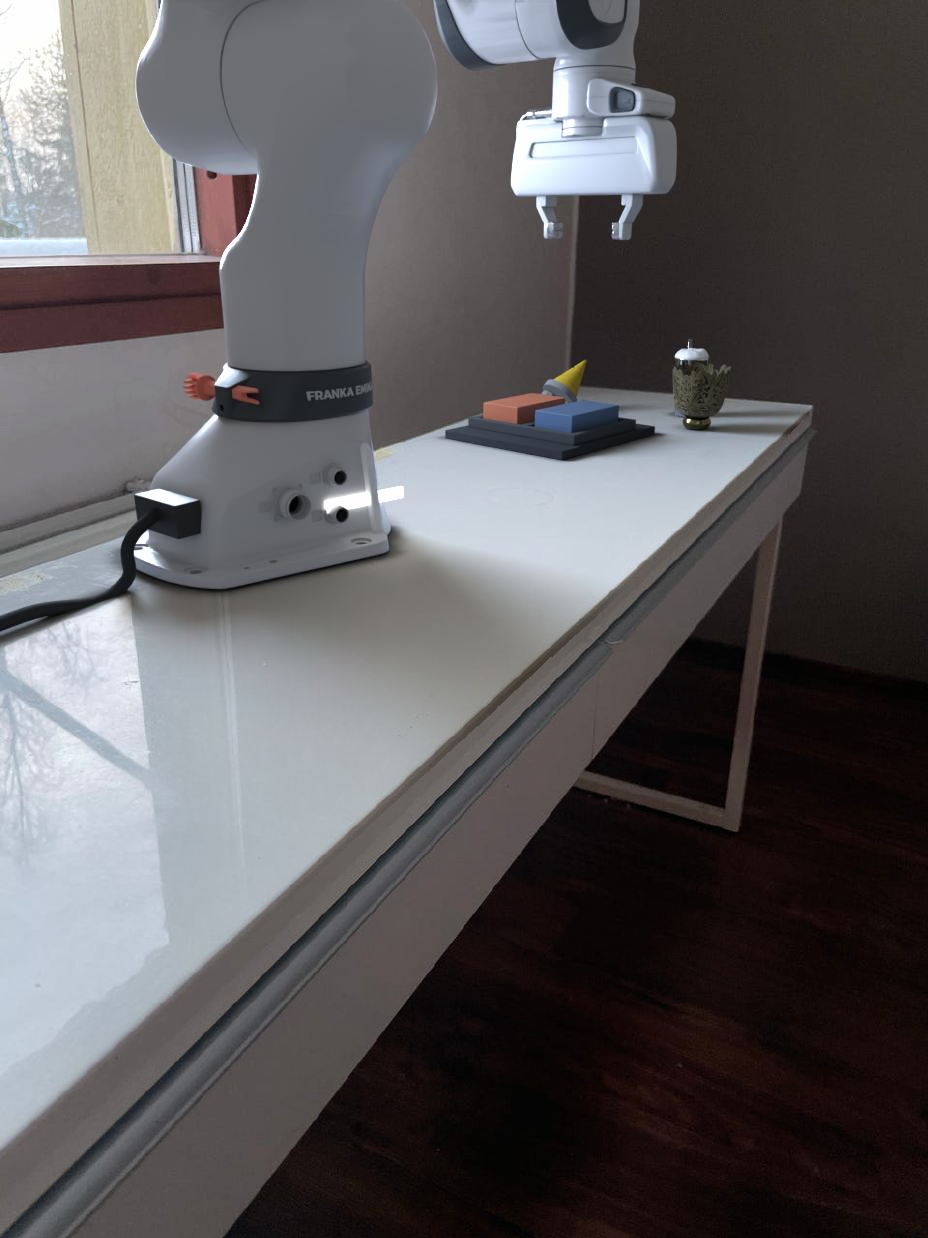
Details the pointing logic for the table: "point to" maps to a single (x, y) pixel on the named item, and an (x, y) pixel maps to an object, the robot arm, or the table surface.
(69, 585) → the table surface
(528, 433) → the backing plate
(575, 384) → the yellow cone tip
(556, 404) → the orange-red rectangular block
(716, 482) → the table surface
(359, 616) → the table surface
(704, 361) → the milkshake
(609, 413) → the blue rectangular block
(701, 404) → the cup
